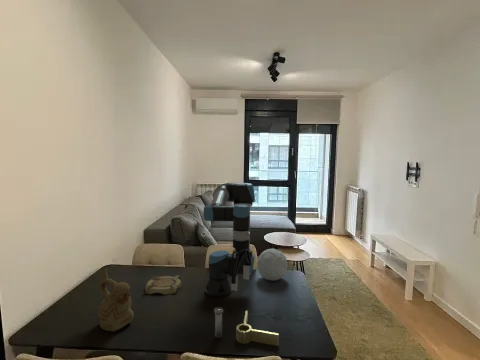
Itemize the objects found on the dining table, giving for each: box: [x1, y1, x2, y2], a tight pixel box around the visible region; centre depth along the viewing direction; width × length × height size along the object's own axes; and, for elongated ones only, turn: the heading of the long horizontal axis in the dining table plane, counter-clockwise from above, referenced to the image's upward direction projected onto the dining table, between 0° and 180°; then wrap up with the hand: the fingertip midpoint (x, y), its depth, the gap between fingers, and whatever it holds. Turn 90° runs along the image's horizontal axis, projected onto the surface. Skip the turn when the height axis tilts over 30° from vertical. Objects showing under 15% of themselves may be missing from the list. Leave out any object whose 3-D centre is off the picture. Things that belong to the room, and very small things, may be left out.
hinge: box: [235, 310, 279, 347], centre depth 134 cm, size 21×18×5 cm
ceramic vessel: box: [96, 268, 135, 333], centre depth 141 cm, size 17×20×25 cm
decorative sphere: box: [256, 248, 289, 282], centre depth 195 cm, size 20×20×20 cm
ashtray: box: [144, 274, 183, 296], centre depth 182 cm, size 24×24×5 cm
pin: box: [213, 306, 224, 339], centre depth 133 cm, size 4×4×12 cm
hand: (240, 284), depth 138 cm, fingers open, 13 cm apart
